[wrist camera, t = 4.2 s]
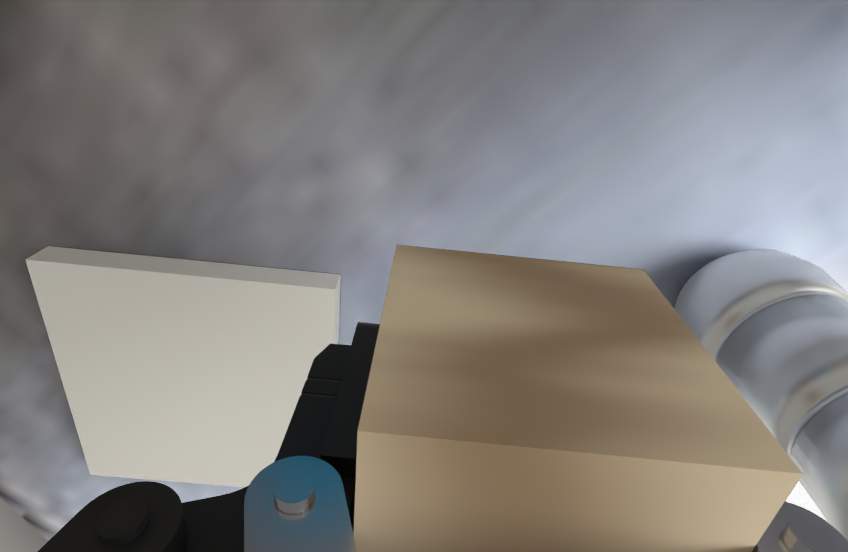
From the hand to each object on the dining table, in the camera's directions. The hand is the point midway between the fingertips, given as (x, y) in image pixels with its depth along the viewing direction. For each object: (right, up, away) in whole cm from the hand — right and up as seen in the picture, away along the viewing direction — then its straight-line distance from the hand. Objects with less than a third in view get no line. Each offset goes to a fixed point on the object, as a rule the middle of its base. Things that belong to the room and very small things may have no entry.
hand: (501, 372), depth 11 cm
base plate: (-13, -3, +16) cm, 22 cm away
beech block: (0, 0, 0) cm, 1 cm away
